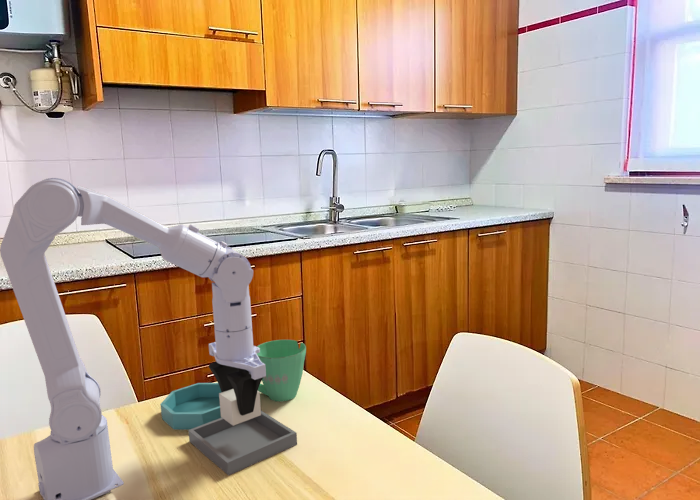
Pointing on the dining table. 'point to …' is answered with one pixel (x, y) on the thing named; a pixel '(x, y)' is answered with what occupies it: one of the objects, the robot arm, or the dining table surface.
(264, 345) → the mug
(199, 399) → the bowl
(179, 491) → the dining table surface
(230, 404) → the off-white smooth cube
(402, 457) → the dining table surface
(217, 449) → the parts tray
